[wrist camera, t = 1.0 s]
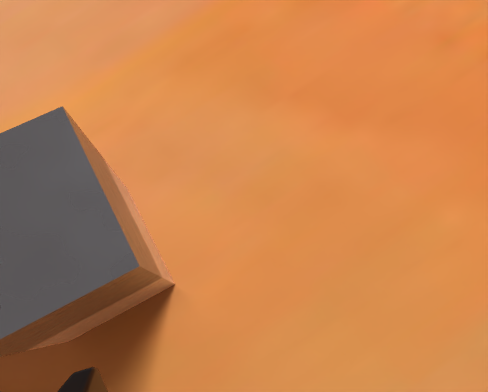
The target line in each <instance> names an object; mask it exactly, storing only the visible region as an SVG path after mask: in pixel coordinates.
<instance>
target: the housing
mask: <svg viewBox="0 0 488 392" xmlns="http://www.w3.org/2000/svg"><path fill="white" fill-rule="evenodd" d="M173 285H175V283H174V281H173V279H172V277H171V275H170V273H169V271H168V269H167V267H166V265H165V263H164V261H163V259H162V257H161V255H160V253H159V250H158V248H157V246H156V244H155V242H154V240H153V238H152V236H151V234H150V232H149V230H148V228H147V226H146V224H145V222H144V220H143V218H142V216H141V214H140V212H139V210H138V208H137V206H136V204H135V202H134V200H133V198H132V196H131V194H130V192H129V190H128V189H127V187H126V186H125V185H124V184H123V182H122V181H121V180H120V178H119V177H118V176H117V175H116V173H115V172H114V171H113V170H112V168H111V167H110V166H109V165H108V163H107V162H106V161H105V159H104V158H103V157H102V156H101V154H100V153H99V152H98V151H97V149H96V148H95V147H94V146H93V144H92V143H91V142H90V141H89V139H88V138H87V137H86V135H85V134H84V133H83V132H82V130H81V129H80V128H79V127H78V125H77V124H76V123H75V122H74V120H73V119H72V118H71V116H70V115H69V114H68V113H67V111H66V110H65V109H64V108H63V106H62V107H60V108H57V109H55V110H53V111H51V112H48V113H46V114H44V115H41V116H39V117H37V118H35V119H32V120H30V121H28V122H25V123H23V124H21V125H19V126H16V127H14V128H12V129H9V130H7V131H5V132H3V133H0V357H2V356H6V355H11V354H15V353H20V352H24V351H29V350H33V349H38V348H42V347H47V346H51V345H56V344H60V343H65V342H69V341H71V340H73V339H75V338H77V337H79V336H80V335H82V334H84V333H86V332H88V331H90V330H91V329H93V328H95V327H97V326H99V325H101V324H103V323H104V322H106V321H108V320H110V319H112V318H114V317H116V316H117V315H119V314H121V313H123V312H125V311H127V310H128V309H130V308H132V307H134V306H136V305H138V304H140V303H141V302H143V301H145V300H147V299H149V298H151V297H153V296H154V295H156V294H158V293H160V292H162V291H164V290H165V289H167V288H169V287H171V286H173Z"/></svg>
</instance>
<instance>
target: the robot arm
mask: <svg viewBox="0 0 488 392" xmlns="http://www.w3.org/2000/svg"><path fill="white" fill-rule="evenodd" d="M58 392H108V391H107V388H106V386H105V383H104V381H103V379H102V376H101V374H100V372H99V370H98V369H97V368H95V367H91V368H88V369H85V370H81V371H78V372H75V373H73V374H72V375H71V376H70V377H69V379H68V380H67V381H66V382H65V383H64V385H63V386H62V387H61V388H60V389H59V391H58Z"/></svg>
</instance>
